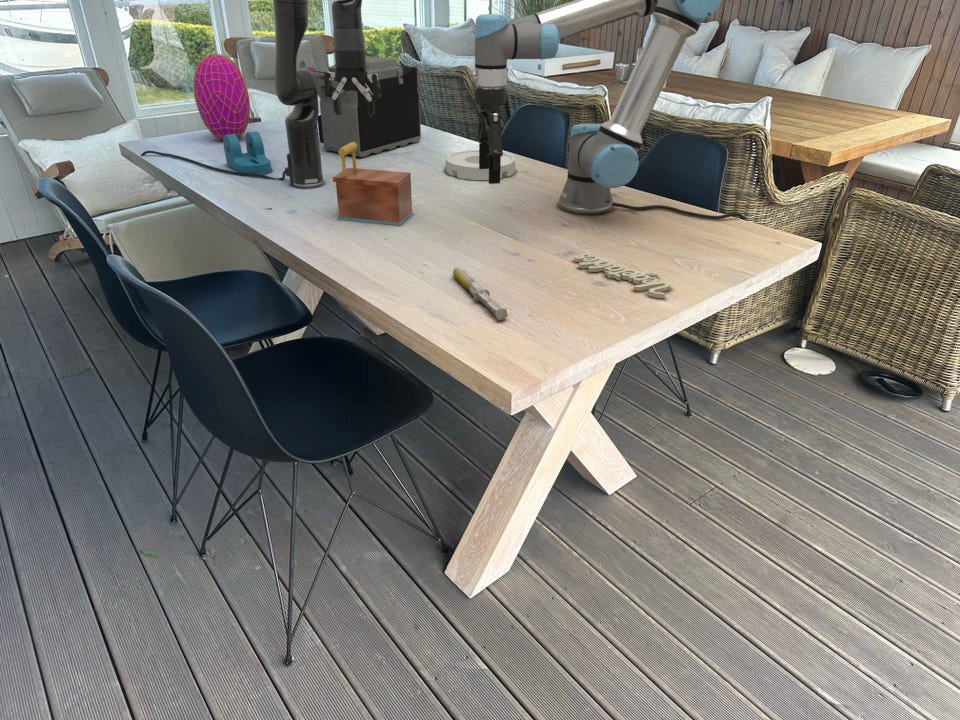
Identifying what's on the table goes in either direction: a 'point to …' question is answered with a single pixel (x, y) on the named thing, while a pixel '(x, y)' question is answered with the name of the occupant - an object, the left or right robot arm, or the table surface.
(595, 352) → the table surface
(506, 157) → the ashtray
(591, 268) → the decorative sign
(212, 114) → the decorative egg
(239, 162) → the camera mount
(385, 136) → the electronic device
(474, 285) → the syringe
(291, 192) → the table surface
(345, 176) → the lid
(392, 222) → the chest
